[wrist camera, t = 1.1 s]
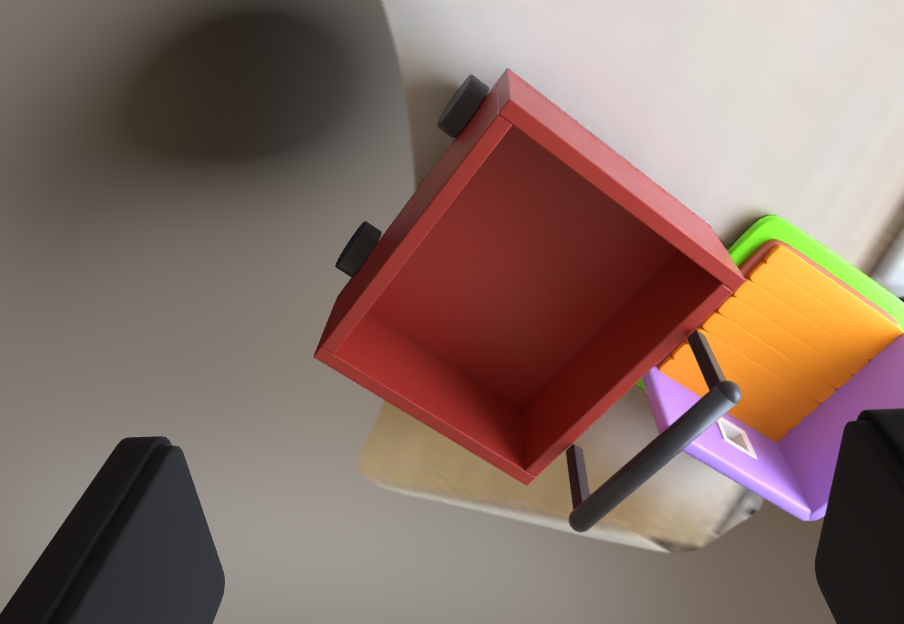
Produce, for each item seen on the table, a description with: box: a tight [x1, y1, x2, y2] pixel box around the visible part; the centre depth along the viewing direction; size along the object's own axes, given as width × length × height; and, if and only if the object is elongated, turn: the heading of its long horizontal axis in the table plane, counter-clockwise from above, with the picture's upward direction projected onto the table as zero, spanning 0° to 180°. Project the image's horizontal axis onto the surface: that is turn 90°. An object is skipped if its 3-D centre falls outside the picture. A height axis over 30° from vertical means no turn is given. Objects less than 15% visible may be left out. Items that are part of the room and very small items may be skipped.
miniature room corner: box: [636, 215, 904, 521], centre depth 38 cm, size 12×12×7 cm
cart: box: [314, 69, 746, 532], centre depth 33 cm, size 14×14×13 cm
